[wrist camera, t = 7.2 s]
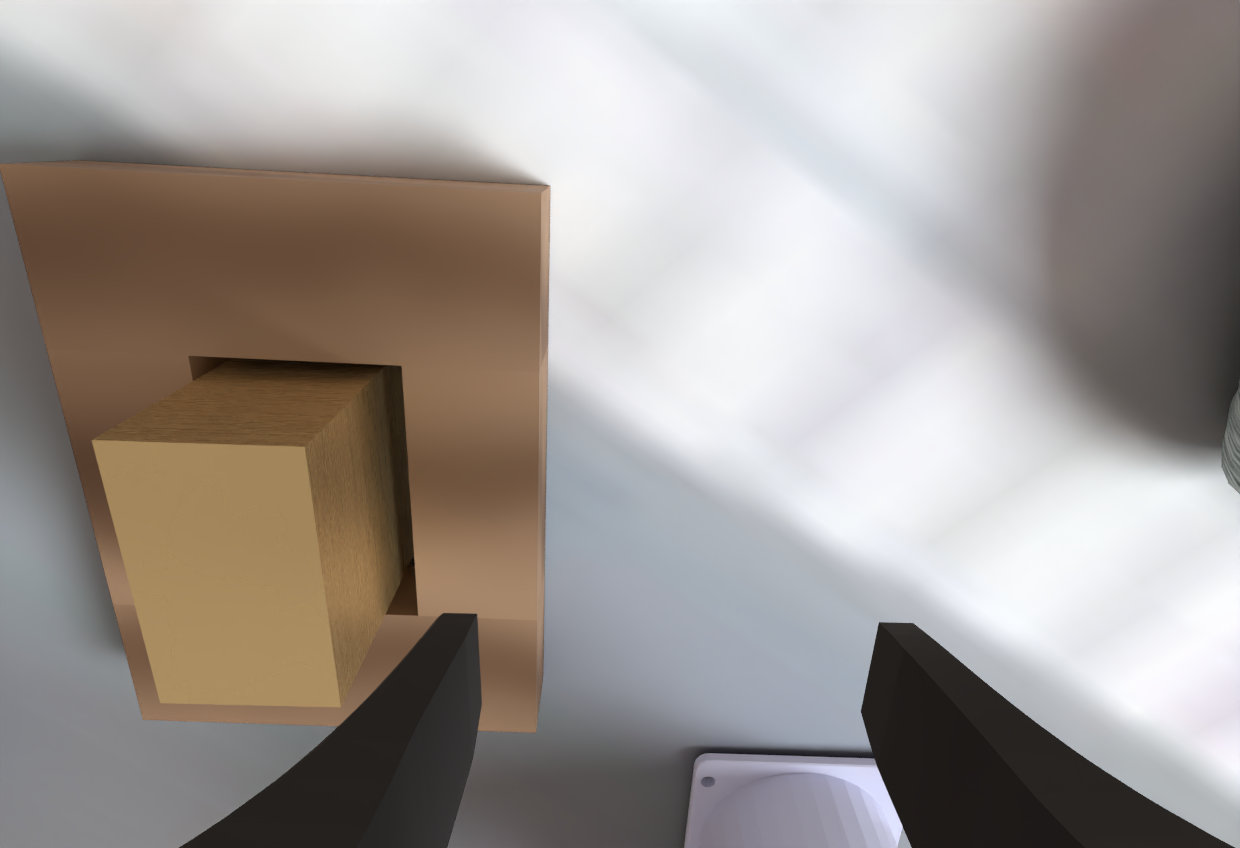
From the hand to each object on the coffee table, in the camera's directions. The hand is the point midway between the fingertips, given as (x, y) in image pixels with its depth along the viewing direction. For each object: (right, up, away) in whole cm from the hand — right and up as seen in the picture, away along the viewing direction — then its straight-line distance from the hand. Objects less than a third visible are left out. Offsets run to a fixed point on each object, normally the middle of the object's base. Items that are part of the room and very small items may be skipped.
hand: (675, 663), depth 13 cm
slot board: (-9, +3, +9) cm, 13 cm away
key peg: (-9, +4, +8) cm, 13 cm away
